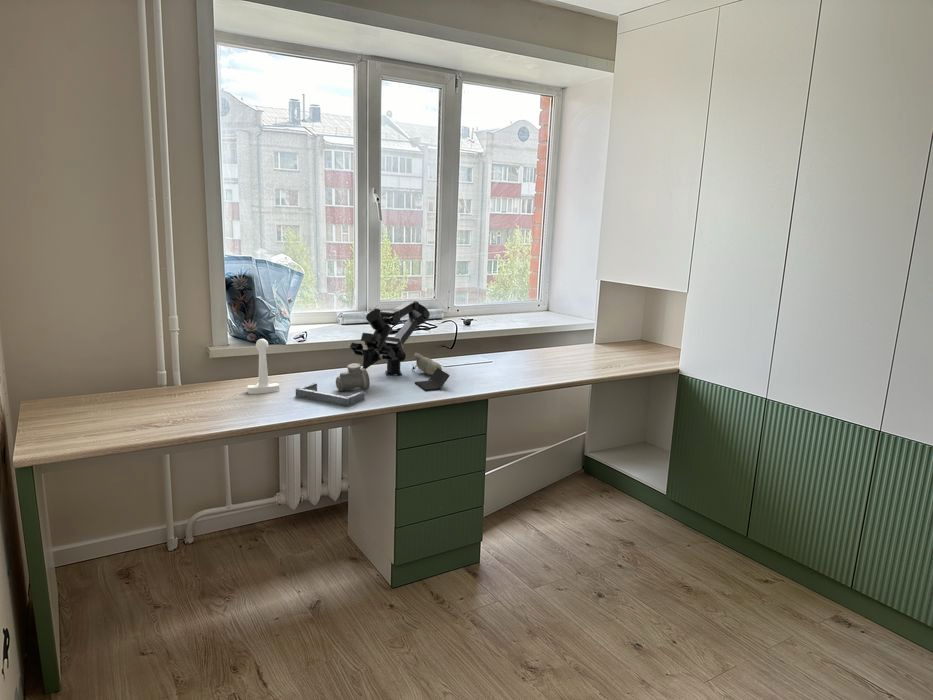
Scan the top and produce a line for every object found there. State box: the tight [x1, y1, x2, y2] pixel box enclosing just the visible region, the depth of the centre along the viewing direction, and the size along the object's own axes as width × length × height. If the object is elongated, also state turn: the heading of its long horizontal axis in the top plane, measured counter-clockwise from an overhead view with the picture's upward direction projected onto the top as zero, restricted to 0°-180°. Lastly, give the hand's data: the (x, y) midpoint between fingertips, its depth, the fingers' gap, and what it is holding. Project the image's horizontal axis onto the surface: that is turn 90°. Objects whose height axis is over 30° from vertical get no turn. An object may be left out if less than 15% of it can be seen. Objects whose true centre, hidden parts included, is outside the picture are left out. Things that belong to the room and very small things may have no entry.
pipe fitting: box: [335, 362, 371, 393], centre depth 238 cm, size 12×8×10 cm
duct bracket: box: [295, 382, 366, 408], centre depth 227 cm, size 10×23×3 cm, turn 64°
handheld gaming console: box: [414, 368, 450, 392], centre depth 247 cm, size 13×8×11 cm
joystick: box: [246, 338, 280, 395], centre depth 232 cm, size 11×8×20 cm
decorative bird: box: [411, 352, 443, 376], centre depth 265 cm, size 6×17×8 cm, turn 42°
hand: (363, 368), depth 245 cm, fingers closed
